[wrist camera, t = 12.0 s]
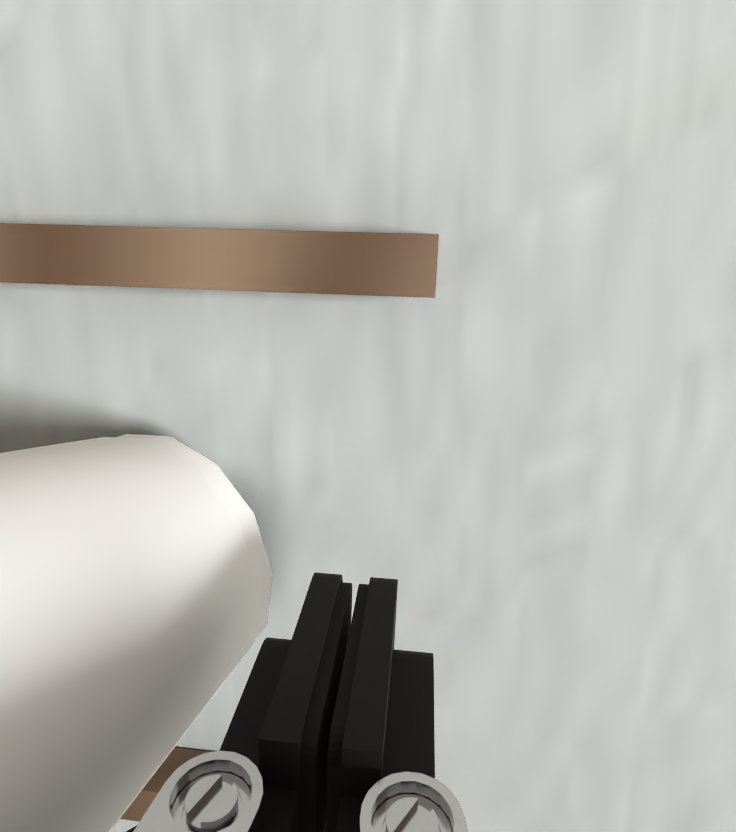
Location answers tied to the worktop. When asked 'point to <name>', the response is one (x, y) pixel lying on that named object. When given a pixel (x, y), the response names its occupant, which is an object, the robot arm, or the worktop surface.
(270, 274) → the dark wooden bay
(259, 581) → the foam cup
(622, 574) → the worktop surface
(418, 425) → the worktop surface
